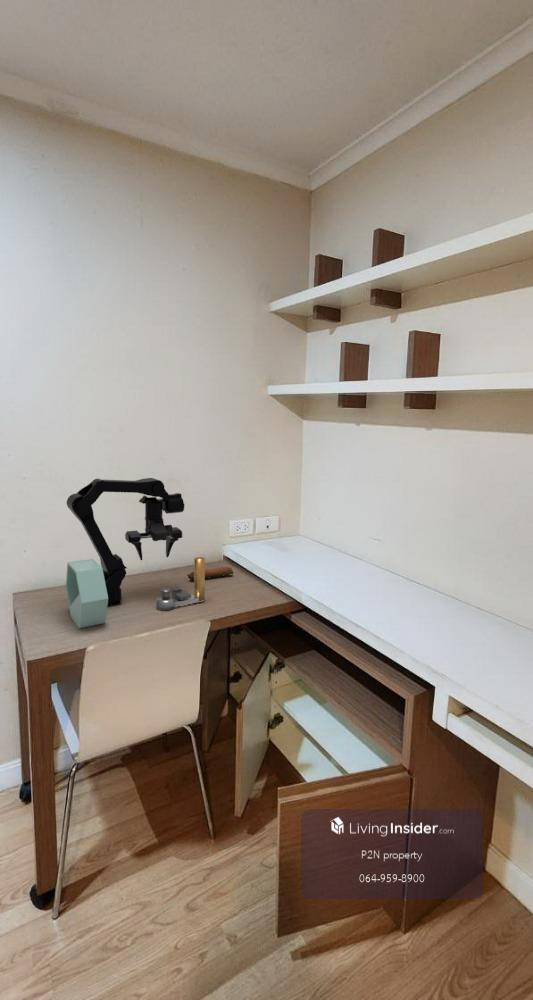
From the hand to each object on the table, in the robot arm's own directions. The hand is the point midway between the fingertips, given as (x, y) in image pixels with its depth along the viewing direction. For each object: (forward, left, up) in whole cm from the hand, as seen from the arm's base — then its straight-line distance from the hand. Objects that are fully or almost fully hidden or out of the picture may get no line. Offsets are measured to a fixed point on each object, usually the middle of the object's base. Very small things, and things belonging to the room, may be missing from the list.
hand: (154, 558), depth 178 cm
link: (+5, -13, -13) cm, 19 cm away
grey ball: (0, -14, -10) cm, 17 cm away
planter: (-25, -13, -13) cm, 31 cm away
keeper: (+6, -12, -13) cm, 19 cm away
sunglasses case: (+24, +11, -14) cm, 30 cm away
